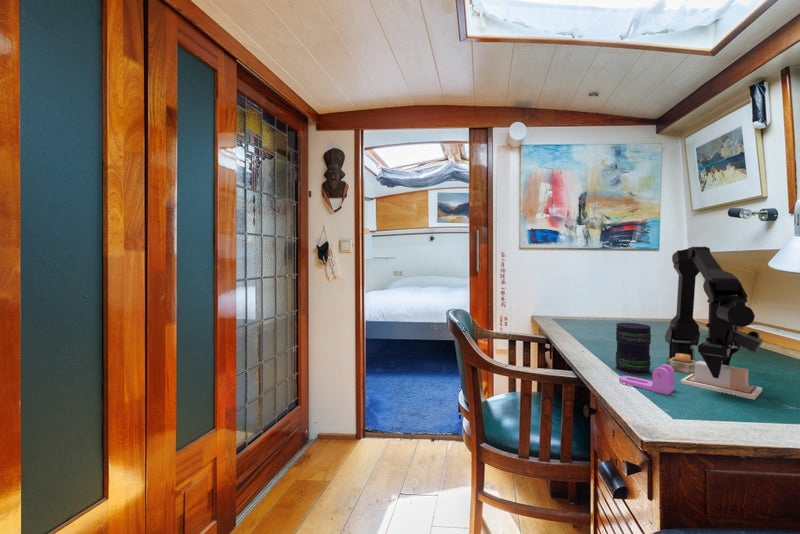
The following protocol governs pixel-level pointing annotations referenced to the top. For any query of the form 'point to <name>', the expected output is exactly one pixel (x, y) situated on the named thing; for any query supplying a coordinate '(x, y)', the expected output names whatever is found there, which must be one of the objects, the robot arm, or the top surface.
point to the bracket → (654, 380)
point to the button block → (682, 366)
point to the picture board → (723, 388)
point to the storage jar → (633, 348)
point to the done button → (683, 358)
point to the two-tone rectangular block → (722, 376)
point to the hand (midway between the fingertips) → (720, 374)
